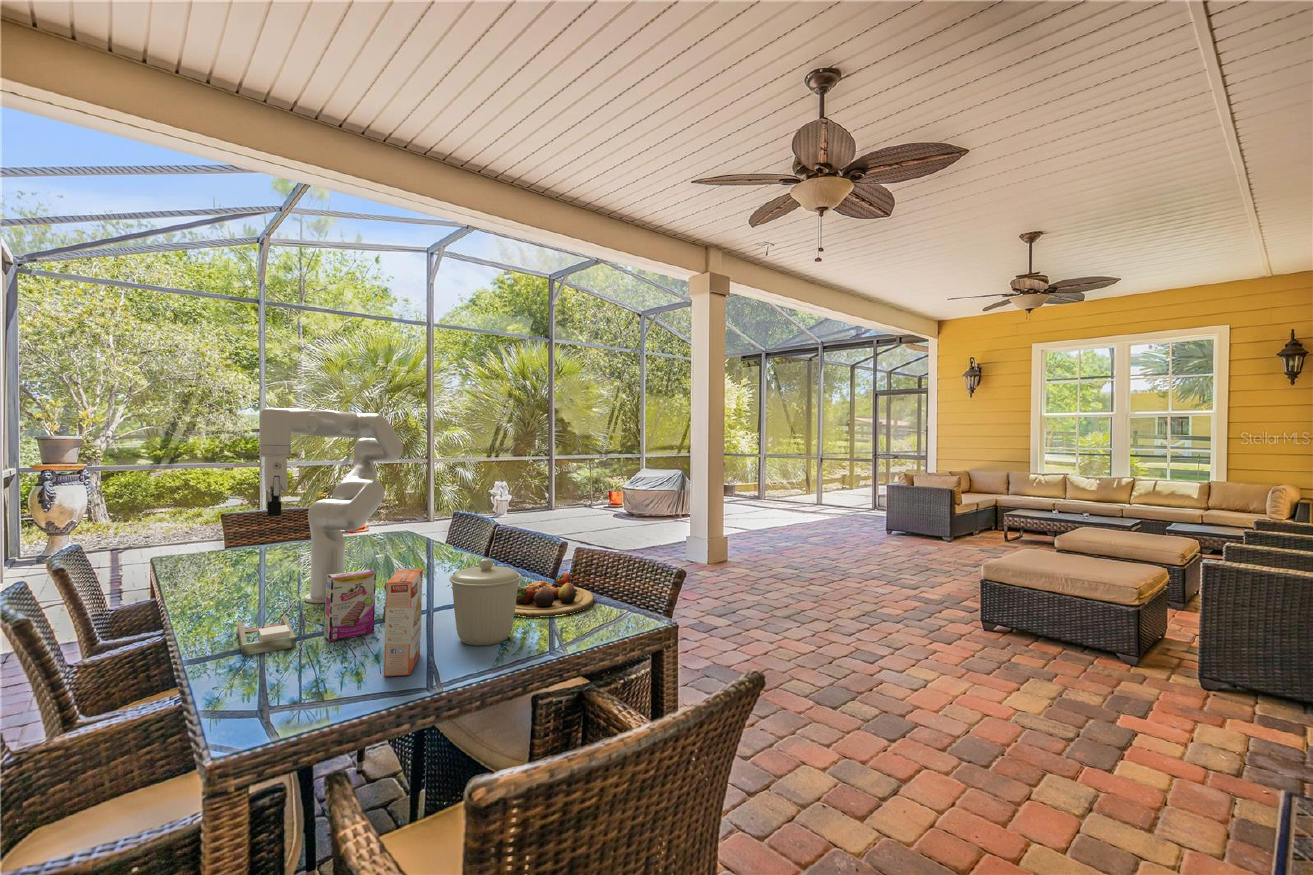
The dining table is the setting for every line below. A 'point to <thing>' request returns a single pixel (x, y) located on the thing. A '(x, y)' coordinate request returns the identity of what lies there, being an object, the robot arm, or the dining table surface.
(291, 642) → the finger lane
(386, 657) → the cracker box
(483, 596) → the canister
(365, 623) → the candy bar box
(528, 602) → the wooden plate with food
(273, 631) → the cream block
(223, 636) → the dining table surface
